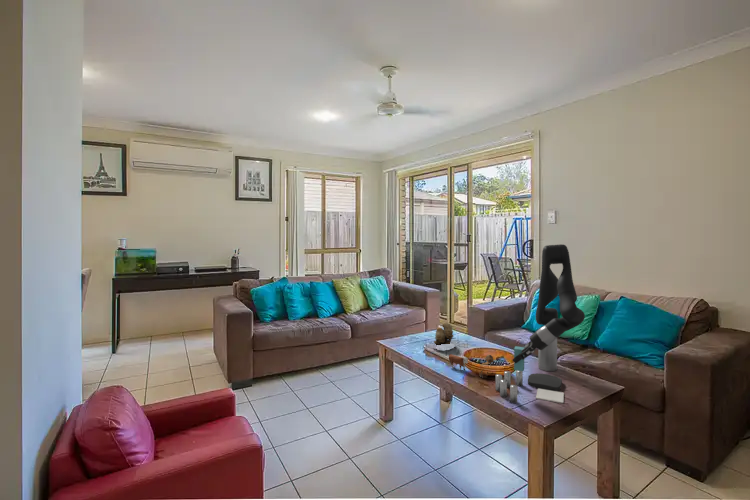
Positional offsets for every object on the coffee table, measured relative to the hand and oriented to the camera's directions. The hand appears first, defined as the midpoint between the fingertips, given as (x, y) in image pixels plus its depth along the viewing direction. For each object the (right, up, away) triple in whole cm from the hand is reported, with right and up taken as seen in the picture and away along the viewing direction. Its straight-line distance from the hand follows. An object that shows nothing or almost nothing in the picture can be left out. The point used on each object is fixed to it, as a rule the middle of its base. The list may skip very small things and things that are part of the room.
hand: (514, 359), depth 173 cm
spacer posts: (-3, -15, +2) cm, 16 cm away
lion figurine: (-6, -15, +24) cm, 29 cm away
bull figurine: (-19, -15, +31) cm, 39 cm away
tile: (+15, -15, -4) cm, 22 cm away
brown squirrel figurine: (-20, -13, +70) cm, 74 cm away
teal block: (+2, -4, -1) cm, 5 cm away
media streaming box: (+19, -15, +10) cm, 26 cm away
